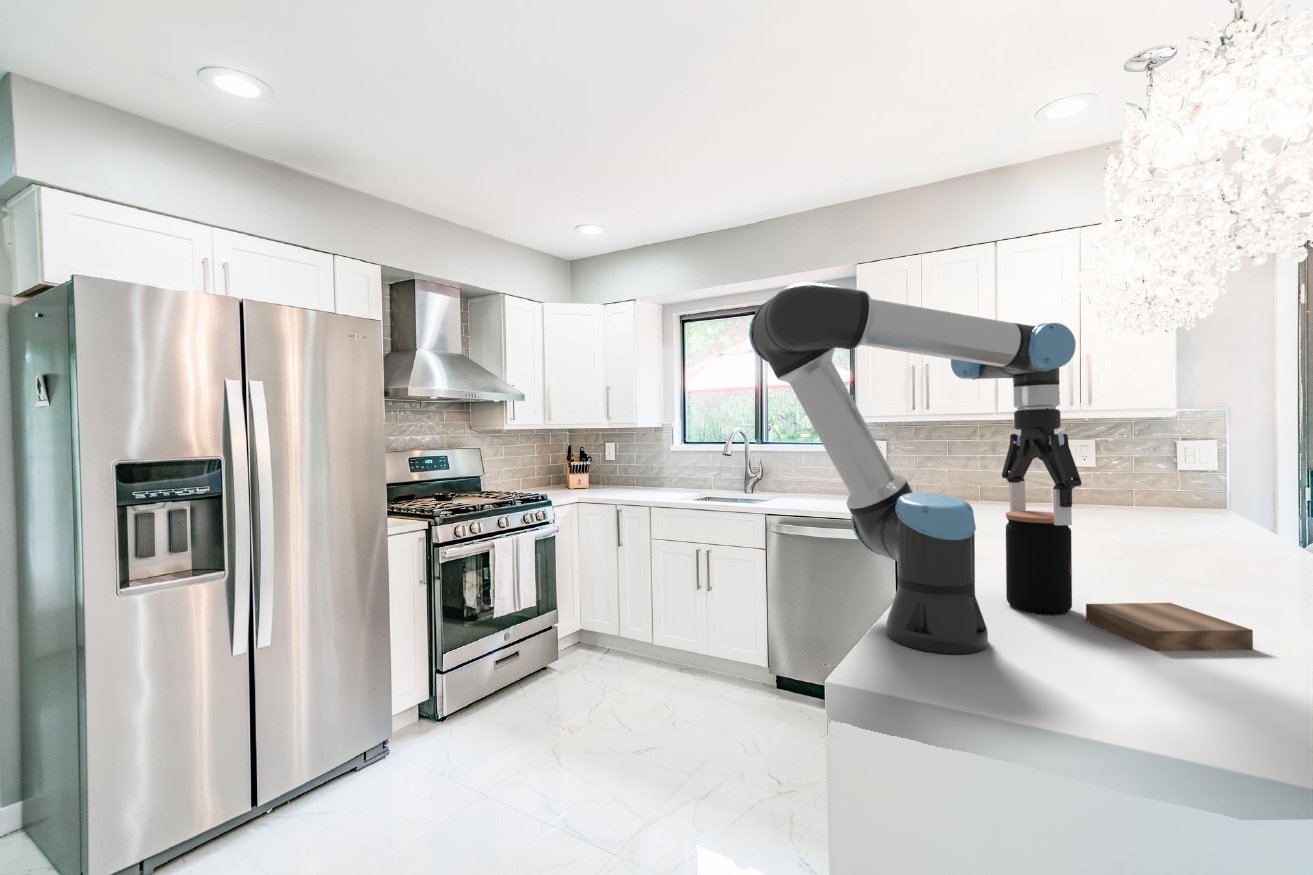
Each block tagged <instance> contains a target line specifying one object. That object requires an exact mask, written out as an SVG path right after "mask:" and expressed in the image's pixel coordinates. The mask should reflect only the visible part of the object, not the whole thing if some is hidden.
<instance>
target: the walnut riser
mask: <svg viewBox="0 0 1313 875" xmlns="http://www.w3.org/2000/svg"><path fill="white" fill-rule="evenodd" d="M1085 617H1086V618H1085V621H1086V622H1088V621H1089V623H1090V622H1091V624H1093V623H1094V624H1093V625H1095V626H1097V627H1100V628H1102V629H1104V628H1105V630H1106V631H1110V632H1111V633H1114V634H1116V635H1119V636H1121V637H1122V636H1123V637H1122V638H1125V639H1127V640H1129V641H1132V642H1134V643H1136V644H1138V643H1139V644H1138V645H1141V646H1143V647H1146V648H1148V649H1150V650H1152V649H1153V651H1154V652H1160V651H1161V652H1162V651H1163V652H1165V651H1167V652H1168V651H1169V650H1177V651H1211V650H1210V649H1218V650H1217V651H1222V650H1221V649H1247V650H1254V648H1253V647H1254V646H1253V645H1254V644H1253V643H1254V640H1253V639H1254V636H1253V635H1254V634H1253V633H1254V632H1253V631H1254V630H1253V629H1250V628H1248V627H1246V626H1245V627H1244V626H1242V625H1238V624H1236V623H1233V622H1230V621H1227V620H1223V619H1220V618H1217V617H1215V616H1212V615H1208V614H1206V613H1203V612H1199V611H1197V610H1193V609H1190V608H1188V607H1184V606H1182V605H1178V604H1176V603H1172V602H1135V603H1134V602H1131V603H1129V602H1125V603H1123V602H1121V603H1116V602H1115V603H1086V604H1085ZM1219 649H1220V650H1219ZM1169 652H1170V651H1169Z"/></svg>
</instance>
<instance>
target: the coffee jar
mask: <svg viewBox="0 0 1313 875" xmlns="http://www.w3.org/2000/svg"><path fill="white" fill-rule="evenodd" d="M1005 518H1006V519H1007V521H1008V522H1007V523H1006V524H1005V572H1006V573H1005V577H1006V579H1005V580H1006V581H1005V589H1006V592H1005V596H1006V597H1005V598H1006V601H1007V603H1008V604H1009V606H1010V607H1011V606H1012V607H1011V608H1013V609H1014V608H1015V610H1017V611H1019V610H1021V611H1020V612H1023V611H1024V613H1027V612H1028V614H1032V613H1034V615H1039V614H1041V615H1040V616H1061V615H1062V614H1063V615H1066V614H1068V613H1069V610H1071V609H1072V607H1073V572H1072V571H1073V567H1072V566H1073V565H1072V564H1073V563H1072V529H1071V527H1069V525H1054V511H1053V512H1051V511H1041V510H1040V511H1039V510H1038V511H1036V510H1035V511H1034V510H1026V511H1012V512H1010V511H1008V512H1005ZM1063 615H1062V616H1063Z"/></svg>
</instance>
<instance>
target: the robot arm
mask: <svg viewBox="0 0 1313 875" xmlns="http://www.w3.org/2000/svg"><path fill="white" fill-rule="evenodd" d="M748 336H749V337H748V338H749V342H750V345H751V347H752V350H754V353H756V355H757V356H758V357H759V358H761V359H762V360H764V361H765V362H767V363H768V364H769V366H770V368H771V370H772V371H773V373H774V375H775V377H776V379H777V380H779V381H783V382H786V383H788V384H789V385H790V387H791V389H792V390H793V392H794V394H795V396H796V398H797V400H798V402H799V403H800V405H801V407H802V409H803V411H804V413H805V415H806V416H807V418H808V420H809V422H810V424H811V425H812V428H813V430H814V431H815V433H816V434H817V436H818V438H819V440H820V442H821V444H822V446H823V447H824V449H825V451H826V453H827V454H828V457H829V458H830V460H831V462H832V464H833V466H834V468H835V470H836V471H837V473H838V474H839V477H840V478H841V480H842V482H843V484H844V486H845V488H846V489H847V491H848V493H849V494H848V497H847V500H846V506H847V509H848V510H849V512H850V515H851V519H850V521H851V528H852V532H853V533H854V535H855V537H856V539H857V540H858V541H859V542H860V543H861V544H862V545H863V546H864V547H865V548H867V549H868V550H870V552H872V553H875V554H877V555H880V556H883V557H885V558H888V559H890V560H892V561H895V562H897V563H896V564H897V568H896V569H897V587H896V588H897V590H896V591H895V595H894V598H893V601H892V604H891V607H890V609H889V612H888V616H887V619H886V634H887V636H888V637H889V638H890V639H891V640H893V642H896V643H898V644H901V645H904V646H905V647H909V648H912V649H915V650H920V651H924V652H926V651H927V652H931V653H939V654H940V653H941V654H953V655H954V654H970V653H971V654H972V653H978V652H980V651H984V650H985V649H987V647H988V646H989V639H988V638H989V637H988V636H989V635H988V633H989V632H988V628H987V624H986V621H985V618H984V616H983V613H982V611H981V608H980V605H979V602H978V599H977V597H976V587H975V585H976V583H975V582H976V578H975V577H976V572H975V571H976V568H975V567H976V566H975V564H976V563H975V562H976V559H975V556H976V555H975V554H976V552H975V551H976V550H975V549H976V548H975V547H976V546H975V544H976V543H975V538H976V537H975V532H976V530H977V528H976V527H977V526H976V523H975V515H974V509H973V507H972V505H971V504H970V503H969V502H968V501H966V500H964V499H962V498H960V497H957V496H952V495H948V494H940V493H936V492H935V493H934V492H914V491H913V490H912V489H911V486H910V484H909V483H908V481H907V479H906V477H905V476H903V475H900V474H896V473H894V472H893V471H892V470H891V467H890V466H889V464H888V462H887V460H886V459H885V457H884V455H883V453H882V451H881V449H880V447H879V445H878V444H877V442H876V440H875V438H874V437H873V436H874V435H873V434H872V433H871V431H870V429H869V427H868V425H867V423H866V422H865V420H864V418H863V416H862V414H861V412H860V410H859V409H858V407H857V405H856V403H855V401H854V399H853V398H852V395H851V394H850V392H849V390H848V388H847V386H846V384H845V382H844V380H843V379H842V377H841V375H840V373H839V371H838V370H837V368H836V366H835V364H834V362H833V356H834V353H835V349H843V350H845V349H846V350H851V351H852V350H855V349H857V348H858V347H859V346H865V347H872V348H879V349H885V350H890V351H891V350H892V351H897V352H905V353H910V354H916V355H924V356H930V357H936V358H941V359H949V360H950V367H951V370H952V372H953V373H954V375H955V376H956V377H957V378H959V379H962V380H963V379H964V380H966V379H967V380H973V381H974V380H981V379H982V380H985V379H986V380H987V379H1012V381H1013V382H1012V383H1013V385H1012V386H1013V388H1012V389H1013V407H1014V408H1016V410H1015V412H1013V419H1014V421H1013V422H1014V423H1013V426H1014V429H1015V430H1019V431H1020V433H1011V434H1010V435H1009V446H1008V450H1007V454H1006V458H1005V461H1004V465H1003V468H1002V471H1001V478H1002V479H1006V480H1007V482H1008V483H1009V484H1008V486H1009V488H1008V490H1009V512H1012V511H1027V510H1026V508H1027V507H1026V506H1027V505H1026V480H1025V478H1024V477H1025V476H1026V473H1027V472H1028V470H1029V468H1030V466H1031V464H1032V463H1033V460H1034V459H1039V460H1040V461H1042V462H1043V465H1044V466H1045V468H1046V470H1047V472H1048V473H1049V475H1050V477H1051V479H1052V481H1053V483H1054V486H1053V487H1052V488H1053V489H1052V490H1053V491H1052V494H1053V512H1054V525H1068V526H1072V524H1073V523H1072V522H1073V519H1072V518H1073V517H1072V505H1073V490H1074V489H1075V488H1076V487H1081V486H1082V480H1081V477H1080V474H1079V473H1080V472H1079V471H1078V468H1077V466H1076V463H1075V460H1074V458H1073V457H1074V456H1073V454H1072V451H1071V449H1070V446H1069V437H1068V436H1069V435H1068V434H1067V433H1055V430H1057V429H1060V428H1061V426H1062V424H1061V420H1062V419H1061V410H1060V409H1059V408H1057V407H1058V406H1060V404H1061V400H1060V398H1061V397H1060V394H1061V392H1060V368H1061V367H1064V366H1066V365H1067V364H1068V363H1069V362H1071V360H1072V358H1073V357H1074V355H1075V352H1076V346H1077V344H1076V338H1075V335H1074V333H1073V332H1072V330H1071V329H1070V328H1069V327H1068V326H1066V325H1065V324H1062V323H1059V322H1049V323H1044V322H1043V323H1040V324H1038V325H1030V324H1025V323H1016V322H1009V321H1004V320H997V319H991V318H985V317H979V316H973V315H968V314H962V313H957V312H950V311H945V310H944V311H943V310H938V309H935V308H934V309H932V308H928V307H927V308H926V307H921V306H916V305H909V304H902V303H898V302H893V301H886V300H881V299H876V298H871V295H870V294H869V292H867V291H866V290H861V289H855V288H849V287H842V286H837V285H831V284H823V283H819V282H818V283H817V282H800V283H794V284H791V285H789V286H787V287H784V288H783V289H781V290H780V291H779V292H778V293H777V294H775V296H772V297H771V298H770V299H768V300H767V301H766V302H764V303H762V305H761V306H760V307H758V309H757V311H756V312H755V314H754V315H753V317H752V319H751V321H750V325H749V330H748Z"/></svg>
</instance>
